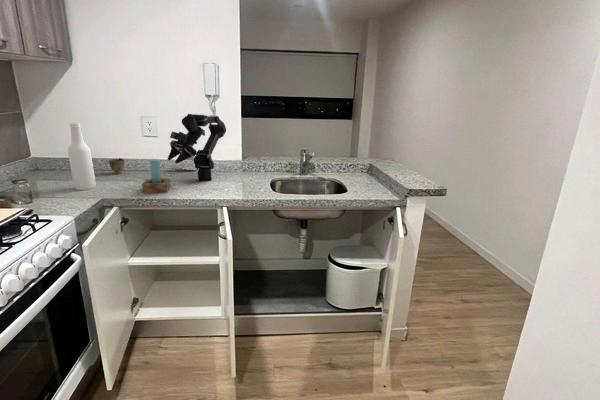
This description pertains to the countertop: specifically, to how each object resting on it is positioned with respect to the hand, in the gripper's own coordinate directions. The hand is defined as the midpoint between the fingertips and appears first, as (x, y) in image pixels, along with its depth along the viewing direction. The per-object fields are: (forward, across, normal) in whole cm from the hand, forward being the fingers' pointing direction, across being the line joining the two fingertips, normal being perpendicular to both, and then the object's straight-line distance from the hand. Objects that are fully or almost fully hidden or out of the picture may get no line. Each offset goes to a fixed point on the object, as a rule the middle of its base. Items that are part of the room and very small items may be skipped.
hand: (171, 161), depth 165 cm
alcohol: (+33, -22, -15) cm, 42 cm away
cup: (+18, -45, 0) cm, 48 cm away
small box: (-7, -32, +25) cm, 41 cm away
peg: (+15, 0, +3) cm, 15 cm away
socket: (+15, 0, +3) cm, 15 cm away
